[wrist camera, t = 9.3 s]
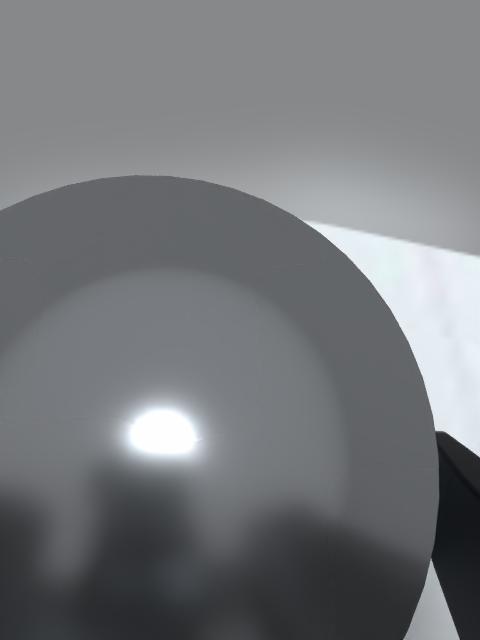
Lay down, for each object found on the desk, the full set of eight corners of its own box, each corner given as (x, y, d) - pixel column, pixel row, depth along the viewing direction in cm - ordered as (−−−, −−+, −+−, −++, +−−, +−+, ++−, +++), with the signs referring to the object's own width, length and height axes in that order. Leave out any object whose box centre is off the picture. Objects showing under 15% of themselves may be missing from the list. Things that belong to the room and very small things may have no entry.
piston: (301, 458, 16) (569, 463, 4) (192, 566, 15) (48, 1105, 2) (209, 354, 17) (179, 88, 5) (99, 446, 16) (-321, 409, 4)
